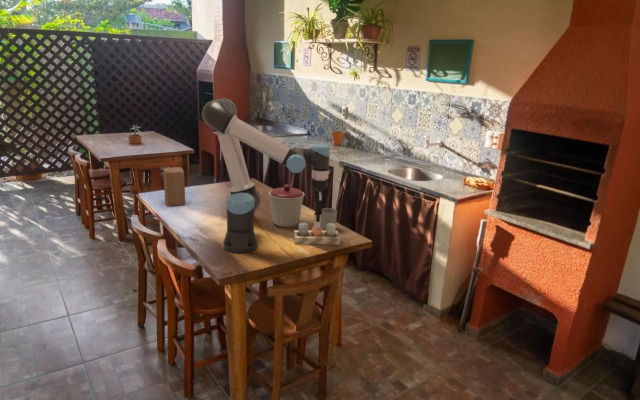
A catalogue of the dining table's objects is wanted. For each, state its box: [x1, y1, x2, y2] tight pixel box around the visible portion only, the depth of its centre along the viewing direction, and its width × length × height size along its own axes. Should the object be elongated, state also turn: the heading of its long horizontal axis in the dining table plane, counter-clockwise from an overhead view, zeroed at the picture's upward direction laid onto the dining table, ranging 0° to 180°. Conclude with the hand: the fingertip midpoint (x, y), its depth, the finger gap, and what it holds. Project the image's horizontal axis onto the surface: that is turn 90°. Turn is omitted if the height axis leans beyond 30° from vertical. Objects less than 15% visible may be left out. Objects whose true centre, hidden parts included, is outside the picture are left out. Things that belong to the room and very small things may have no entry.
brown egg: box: [311, 226, 322, 236], centre depth 212 cm, size 4×4×5 cm
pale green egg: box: [326, 223, 337, 236], centre depth 213 cm, size 4×4×5 cm
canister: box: [268, 184, 305, 228], centre depth 230 cm, size 18×18×21 cm
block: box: [163, 166, 186, 207], centre depth 253 cm, size 10×10×20 cm
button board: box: [293, 229, 341, 245], centre depth 213 cm, size 21×10×3 cm, turn 96°
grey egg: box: [298, 222, 309, 236], centre depth 211 cm, size 4×4×5 cm
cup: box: [320, 207, 338, 231], centre depth 227 cm, size 8×8×10 cm
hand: (317, 227), depth 212 cm, fingers closed
